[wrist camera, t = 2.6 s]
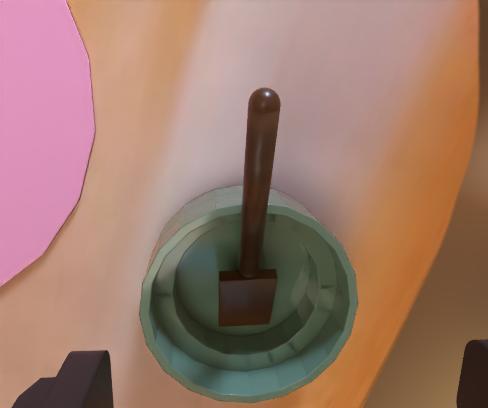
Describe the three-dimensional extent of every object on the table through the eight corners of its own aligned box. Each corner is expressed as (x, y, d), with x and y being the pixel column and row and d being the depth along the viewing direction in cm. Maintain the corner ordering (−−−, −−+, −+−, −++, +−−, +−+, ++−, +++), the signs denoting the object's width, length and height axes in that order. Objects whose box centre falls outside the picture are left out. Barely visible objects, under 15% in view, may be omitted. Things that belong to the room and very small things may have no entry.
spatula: (268, 319, 33) (298, 417, 23) (218, 322, 33) (226, 423, 23) (271, 92, 29) (311, 87, 19) (214, 91, 29) (222, 87, 18)
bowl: (112, 277, 32) (92, 317, 26) (242, 144, 30) (252, 155, 25) (242, 382, 35) (250, 437, 30) (365, 267, 34) (399, 302, 28)
